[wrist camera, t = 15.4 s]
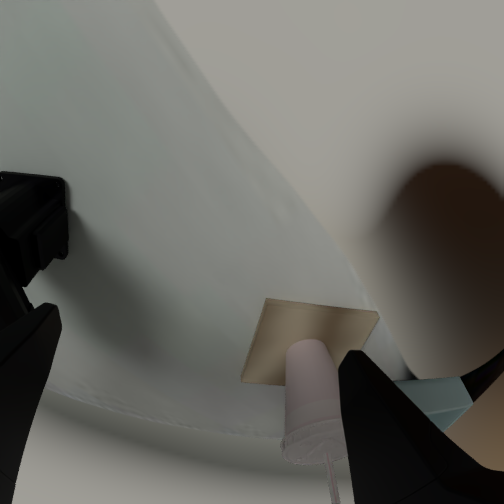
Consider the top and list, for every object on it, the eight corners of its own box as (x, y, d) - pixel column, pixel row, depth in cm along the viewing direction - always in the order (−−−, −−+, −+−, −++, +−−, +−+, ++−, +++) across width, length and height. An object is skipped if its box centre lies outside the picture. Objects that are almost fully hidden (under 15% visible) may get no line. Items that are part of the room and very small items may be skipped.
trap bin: (350, 430, 38) (358, 460, 34) (394, 381, 32) (407, 414, 28) (414, 423, 40) (423, 449, 36) (459, 376, 34) (473, 403, 30)
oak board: (240, 375, 30) (241, 382, 29) (266, 298, 25) (267, 304, 24) (334, 381, 31) (335, 387, 30) (376, 311, 26) (379, 317, 25)
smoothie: (275, 379, 29) (291, 517, 17) (264, 335, 26) (282, 502, 14) (340, 367, 29) (376, 500, 17) (341, 320, 25) (392, 477, 13)
